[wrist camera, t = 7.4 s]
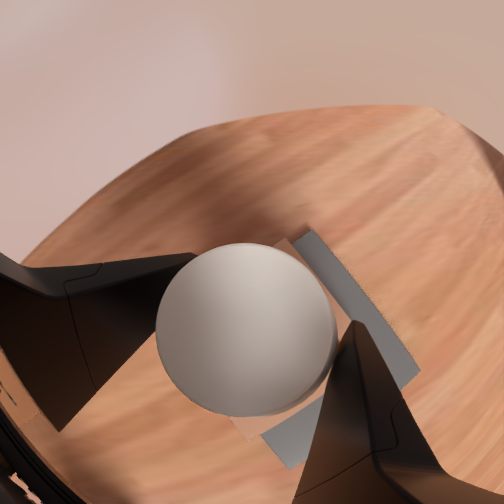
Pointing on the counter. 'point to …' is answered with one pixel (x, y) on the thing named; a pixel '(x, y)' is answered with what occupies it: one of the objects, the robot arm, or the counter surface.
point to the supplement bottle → (246, 331)
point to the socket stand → (346, 309)
